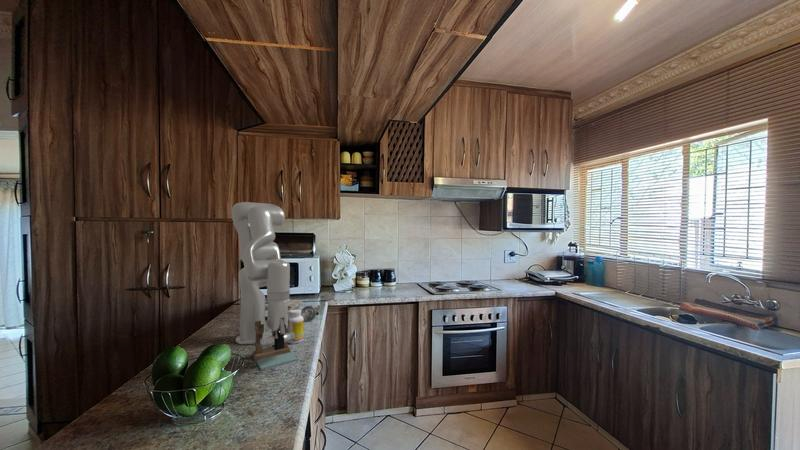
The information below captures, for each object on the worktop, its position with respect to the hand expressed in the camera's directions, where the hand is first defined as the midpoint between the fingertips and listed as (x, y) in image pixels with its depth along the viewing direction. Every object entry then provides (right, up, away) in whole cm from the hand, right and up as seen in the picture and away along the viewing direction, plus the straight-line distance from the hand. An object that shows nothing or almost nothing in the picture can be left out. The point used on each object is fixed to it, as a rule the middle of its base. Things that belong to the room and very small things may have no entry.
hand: (277, 346), depth 102 cm
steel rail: (0, +1, 0) cm, 1 cm away
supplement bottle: (-1, -6, +19) cm, 20 cm away
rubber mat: (0, -5, 0) cm, 5 cm away
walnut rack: (-5, -5, +6) cm, 10 cm away
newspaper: (-25, -7, +63) cm, 69 cm away
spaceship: (-4, -6, +45) cm, 46 cm away
